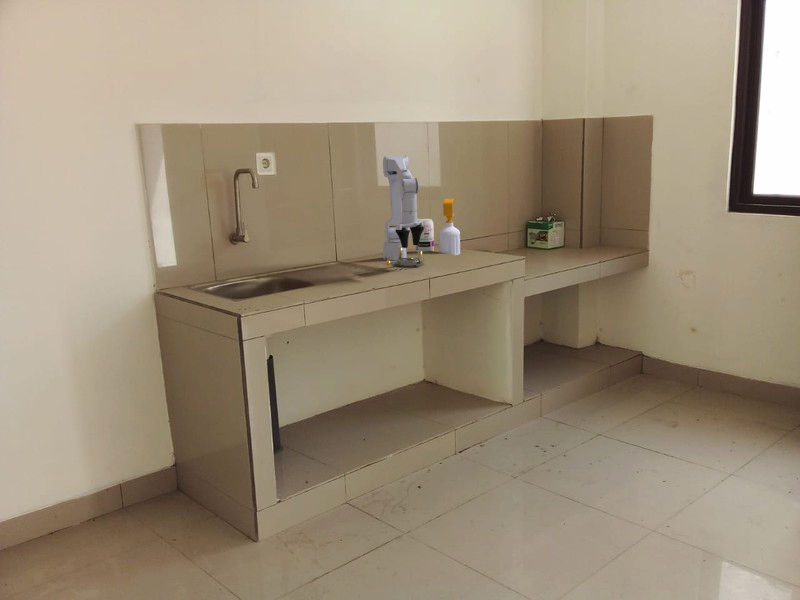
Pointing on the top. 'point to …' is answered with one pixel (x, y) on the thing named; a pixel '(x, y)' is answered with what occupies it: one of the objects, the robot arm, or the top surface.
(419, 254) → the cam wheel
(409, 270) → the top surface
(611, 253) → the top surface
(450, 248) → the soap bottle
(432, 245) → the supplement can
